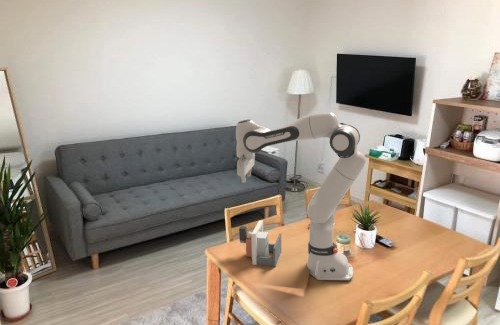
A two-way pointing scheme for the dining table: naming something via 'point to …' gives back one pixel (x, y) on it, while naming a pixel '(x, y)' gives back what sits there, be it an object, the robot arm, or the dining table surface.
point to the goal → (272, 247)
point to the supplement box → (262, 244)
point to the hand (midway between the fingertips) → (246, 179)
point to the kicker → (246, 239)
